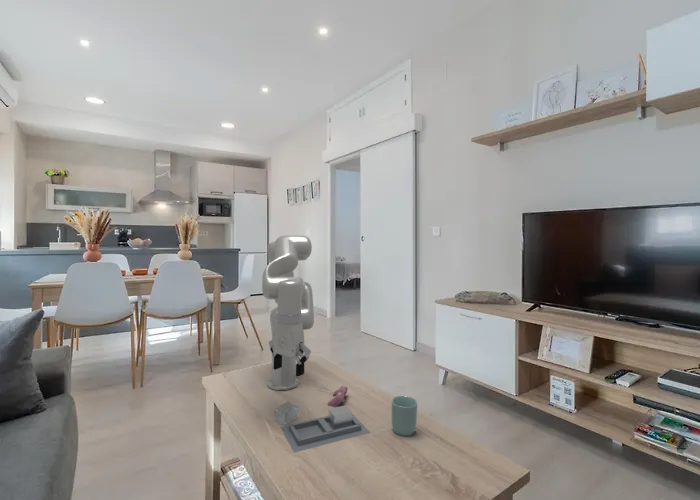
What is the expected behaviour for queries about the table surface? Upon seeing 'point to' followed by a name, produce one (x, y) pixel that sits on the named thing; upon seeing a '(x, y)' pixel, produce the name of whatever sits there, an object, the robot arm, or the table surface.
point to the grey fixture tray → (319, 433)
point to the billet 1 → (286, 413)
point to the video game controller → (338, 396)
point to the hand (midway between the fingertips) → (288, 371)
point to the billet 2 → (340, 417)
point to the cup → (404, 415)
